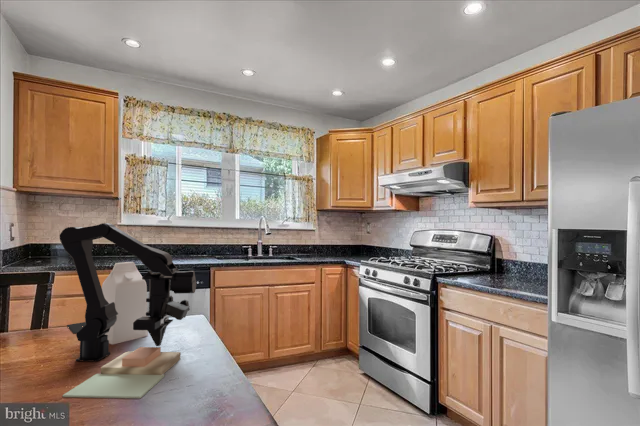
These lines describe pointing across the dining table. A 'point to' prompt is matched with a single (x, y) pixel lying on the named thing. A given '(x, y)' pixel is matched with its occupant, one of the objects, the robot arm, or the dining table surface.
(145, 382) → the mat
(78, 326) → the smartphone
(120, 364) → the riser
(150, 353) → the tile
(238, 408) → the dining table surface
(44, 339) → the dining table surface
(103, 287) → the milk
